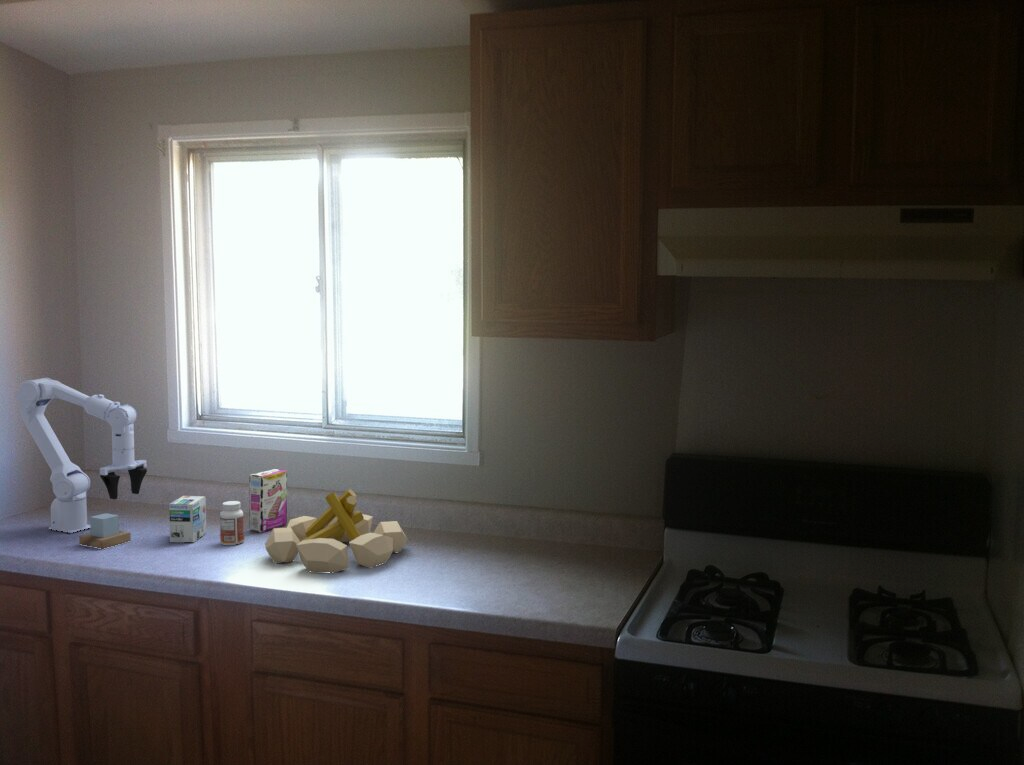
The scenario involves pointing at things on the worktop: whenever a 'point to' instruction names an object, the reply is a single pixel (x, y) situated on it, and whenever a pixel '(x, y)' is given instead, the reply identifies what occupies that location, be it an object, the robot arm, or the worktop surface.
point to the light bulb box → (187, 518)
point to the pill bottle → (231, 523)
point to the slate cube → (104, 525)
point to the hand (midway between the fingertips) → (124, 496)
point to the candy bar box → (268, 500)
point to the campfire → (335, 538)
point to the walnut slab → (104, 540)
